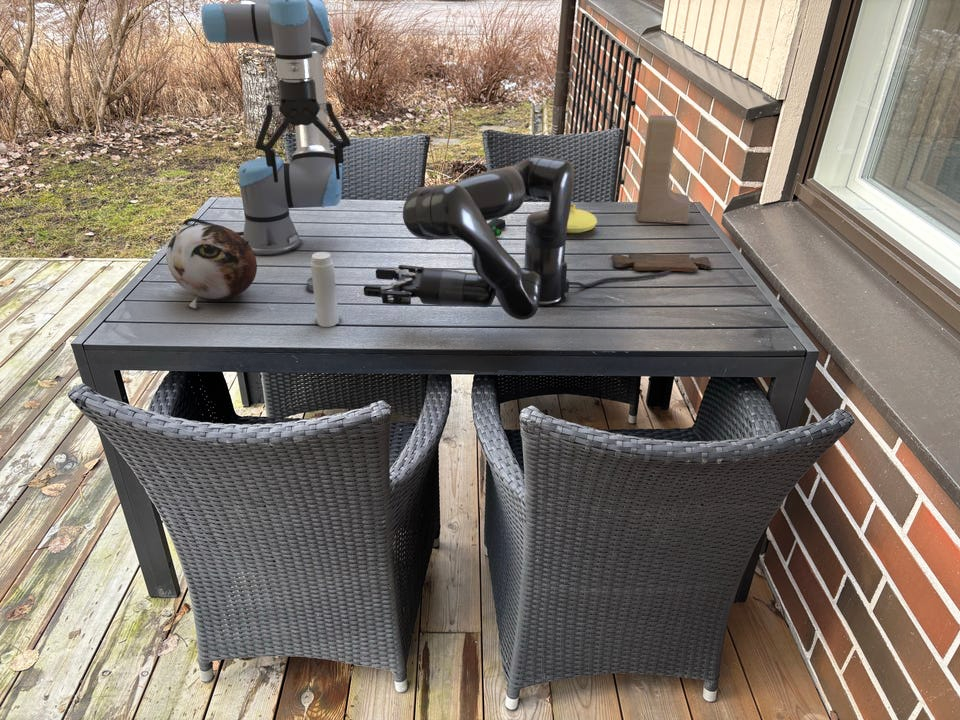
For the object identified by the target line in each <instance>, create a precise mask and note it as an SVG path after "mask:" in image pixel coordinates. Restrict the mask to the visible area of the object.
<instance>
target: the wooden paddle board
mask: <svg viewBox="0 0 960 720" xmlns="http://www.w3.org/2000/svg"><path fill="white" fill-rule="evenodd" d="M690 258H691V254H689V253H687V254H686V253H680V254H679V253H669V254H667V253H666V254H665V253H664V254H661V253H660V254H657V253H636V252H635V253H633V252H632V253H631V252H630V253H628V256H626V255H623V254H621V253H619V254H612V255H611V261H612V264H613V267H614V268H615V269H623V268H629V267H633V270H634V271H637V272H647V271H663V272H664V271H667V270H670V271H671V272H688V273H689V272H692V273H693V272H694V273H695V272H698V271H699V269H700V268H701V269H705V270H710V269H711V262H710V259H709V256H700V257H693V259H690Z"/></svg>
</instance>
